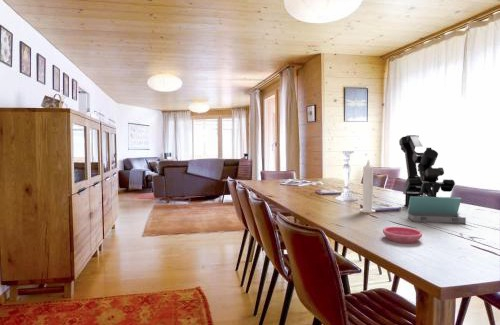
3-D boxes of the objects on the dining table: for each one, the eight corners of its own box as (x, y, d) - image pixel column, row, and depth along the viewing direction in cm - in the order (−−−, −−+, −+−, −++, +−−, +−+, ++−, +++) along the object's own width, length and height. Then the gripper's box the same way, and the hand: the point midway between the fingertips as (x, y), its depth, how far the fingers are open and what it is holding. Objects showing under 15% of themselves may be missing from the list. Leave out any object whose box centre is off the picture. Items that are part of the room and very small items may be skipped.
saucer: (388, 232, 124) (389, 224, 124) (425, 238, 117) (426, 230, 116) (377, 240, 115) (377, 231, 115) (417, 247, 107) (417, 237, 107)
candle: (376, 213, 158) (377, 160, 156) (360, 212, 159) (361, 160, 158) (373, 210, 165) (374, 159, 163) (358, 209, 166) (359, 159, 165)
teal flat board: (407, 217, 148) (407, 212, 148) (457, 219, 145) (457, 213, 145) (413, 222, 140) (413, 216, 140) (466, 224, 136) (466, 218, 136)
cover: (407, 212, 148) (407, 211, 149) (457, 213, 145) (456, 212, 145) (410, 197, 144) (410, 196, 145) (461, 198, 141) (460, 197, 141)
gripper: (408, 161, 150) (415, 188, 140) (454, 161, 147) (464, 189, 137) (403, 176, 158) (409, 204, 148) (446, 177, 155) (455, 205, 145)
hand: (434, 200), depth 144 cm, fingers closed, pressing on cover
